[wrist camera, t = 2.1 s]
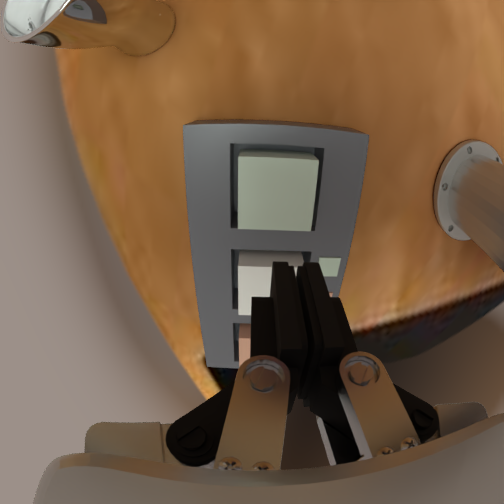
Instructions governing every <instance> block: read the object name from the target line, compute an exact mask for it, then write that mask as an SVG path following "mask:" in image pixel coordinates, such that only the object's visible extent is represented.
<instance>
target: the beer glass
mask: <svg viewBox="0 0 504 504" xmlns="http://www.w3.org/2000/svg"><path fill="white" fill-rule="evenodd" d="M174 27H175V15H174V12H173V10H172V9H171V8H170V7H169V6H168V5H167V4H165V3H163V2H160V1H157V0H5V1H4V4H3V7H2V11H1V16H0V29H1V33H2V35H3V36H4V38H5V39H6V40H8V41H9V42H14V43H18V42H20V43H26V44H32V45H39V46H44V47H52V48H59V49H90V48H101V47H116V48H117V49H119V50H120V51H121V52H123V53H125V54H127V55H131V56H142V55H146V54H149V53H152V52H154V51H156V50H157V49H159V48H160V47H161V46H163V45H164V44H165V43H166V42H167V40H168V39H169V38H170V36H171V35H172V33H173V30H174Z"/></svg>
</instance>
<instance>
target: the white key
mask: <svg viewBox="0 0 504 504" xmlns="http://www.w3.org/2000/svg"><path fill="white" fill-rule="evenodd" d="M273 261H278V262H288V264H289V266H294V270H295V275H296V274H297V267H298V266H303V263H304V260H303V256H302V252H301V251H276V250H241V249H240V252H239V262H238V315H251V298H252V297H270V288H271V275H272V263H273Z"/></svg>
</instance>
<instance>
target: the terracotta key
mask: <svg viewBox="0 0 504 504" xmlns="http://www.w3.org/2000/svg"><path fill="white" fill-rule="evenodd" d="M250 336H251V324H247V323H240V328H239V367H240V365H241V364H242V363H243V362H244V361H246V360H247V359H249V358H250Z"/></svg>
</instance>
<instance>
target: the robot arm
mask: <svg viewBox="0 0 504 504" xmlns="http://www.w3.org/2000/svg"><path fill="white" fill-rule="evenodd" d="M434 210H435V215H436V218H437V221H438V223H439V225H440V226H441V228H442V229H443V230H444V231H445V232H446V233H447V234H448V235H449V236H450V237H452V238H454V239H456V240H462V241H465V240H471V239H472V240H473V241H474V242H475V243H476V244H477V245H478V246H479V247H480V248H481V249H482V250H483V251H484V252H485V253H486V254H487V255H488V256H489V257H490V258H491V259H492V260H493V261H494V262H495V263H496V264H497V265H498V266H499V267H500V268H501V269H502V270H503V271H504V165H503V164H502V161H501V158H500V156H499V155H498V153H497V152H496V150H495V149H494V148H493V147H492V146H490V145H489V144H487V143H485V142H482V141H479V140H467V141H464V142H462V143H460V144H458V145H457V146H456V147H455V148H454V149H452V151H451V152H450V153H449V154H448V155H447V157H446V158H445V160H444V162H443V164H442V165H441V168H440V170H439V173H438V175H437V179H436V183H435V189H434ZM296 394H297V396H298V399H303V404H304V407H307V406H310V411H311V412H313V413H314V414H316V416H317V423H318V426H319V429H320V432H321V435H322V439H323V442H324V446H325V449H326V452H327V456H328V459H329V462H330V466H325V467H316V468H307V469H294V470H280V464H281V457H282V450H283V442H284V434H285V425H286V416H287V415H288V414H289V413H290V412H291V410H292V406H293V404H294V401H295V397H296ZM33 504H504V413H501V414H497V415H494V416H491V417H488V416H487V412H486V409H485V408H484V407H483V406H482V404H480V403H478V402H469V403H468V402H467V403H457V404H438V405H436V406H435V407H432V406H431V405H430V404H428V403H427V402H425V401H423V400H421V399H419V398H418V397H416V396H414V395H412V394H411V393H409V392H407V391H405V390H404V389H402V388H400V387H398V386H396V385H395V384H393V383H392V382H391V380H390V378H389V376H388V374H387V372H386V370H385V368H384V366H383V364H382V363H381V362H380V360H379V359H377V358H376V357H375V356H373V355H371V354H369V353H365V352H358V351H357V348H356V344H355V341H354V338H353V335H352V332H351V329H350V326H349V323H348V320H347V317H346V314H345V311H344V308H343V305H342V302H341V300H340V298H339V297H330V294H329V291H328V288H327V285H326V282H325V279H324V276H323V273H322V270H321V267H320V264H319V263H318V262H304V263H303V266H298V267H297V274H296V275H295V270H294V266H289V264H288V262H278V261H273V263H272V275H271V288H270V297H252V298H251V336H250V358H249V359H247V360H246V361H244V362H243V363H242V364H241V365H240V367H239V369H238V372H237V376H236V380H235V381H234V382H232V383H231V384H230V385H228V386H227V387H225V388H224V389H223V390H221V391H220V392H218V393H217V394H215V395H214V396H213V397H211V398H210V399H208V400H207V401H205V402H204V403H202V404H201V405H199V406H198V407H196V408H195V409H194V410H192V411H190V412H189V413H188V414H186V415H184V416H182V417H181V418H179V419H178V420H176V421H175V422H174V423H171V424H160V422H143V423H118V422H101V423H96V424H94V425H92V426H91V427H90V428H89V430H88V431H87V433H86V437H85V453H75V454H69V455H64V456H61V457H58V458H56V459H55V460H53V461H52V462H51V463H50V464H49V465H48V467H47V468H46V470H45V471H44V474H43V475H42V478H41V480H40V482H39V485H38V488H37V491H36V494H35V498H34V502H33Z"/></svg>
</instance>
